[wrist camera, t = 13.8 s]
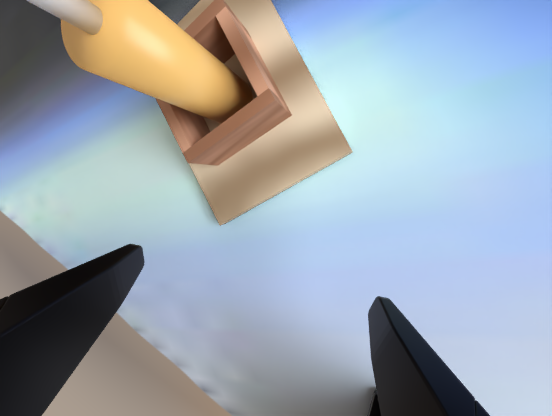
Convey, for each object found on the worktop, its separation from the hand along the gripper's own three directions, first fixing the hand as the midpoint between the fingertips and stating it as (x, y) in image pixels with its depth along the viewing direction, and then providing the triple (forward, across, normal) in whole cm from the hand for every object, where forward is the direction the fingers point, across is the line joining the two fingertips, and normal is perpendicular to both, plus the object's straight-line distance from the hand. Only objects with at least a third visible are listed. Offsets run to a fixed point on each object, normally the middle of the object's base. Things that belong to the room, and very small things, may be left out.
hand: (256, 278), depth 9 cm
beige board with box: (+14, +5, -4) cm, 15 cm away
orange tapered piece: (+13, +5, -4) cm, 15 cm away
